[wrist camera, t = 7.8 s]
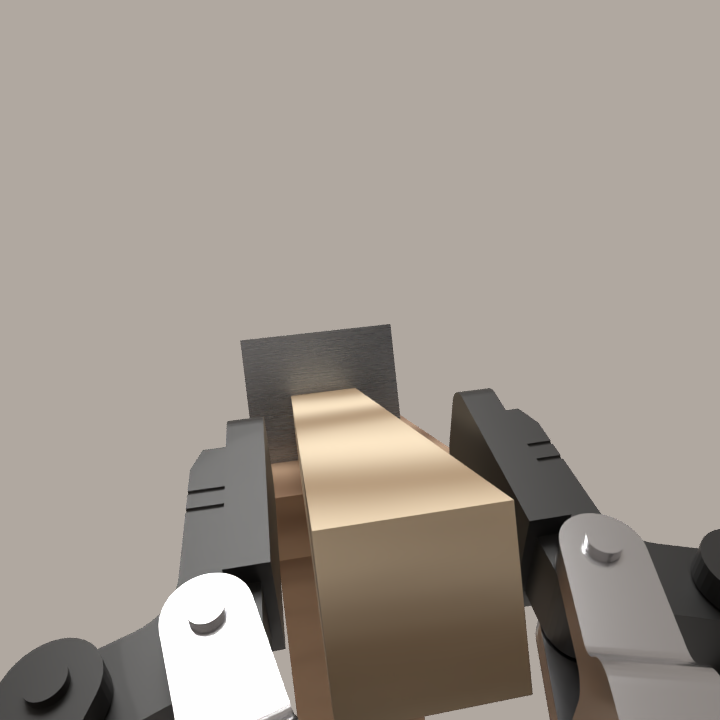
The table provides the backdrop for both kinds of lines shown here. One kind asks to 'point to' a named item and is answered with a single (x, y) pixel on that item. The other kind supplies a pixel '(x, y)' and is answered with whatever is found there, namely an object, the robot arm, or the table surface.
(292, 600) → the stand
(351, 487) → the mallet
